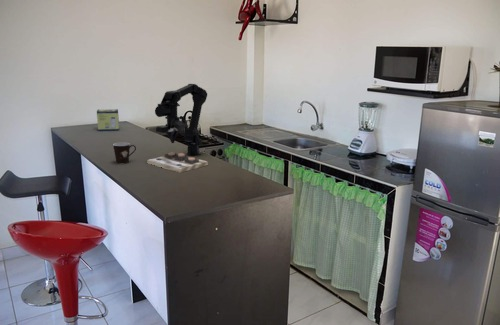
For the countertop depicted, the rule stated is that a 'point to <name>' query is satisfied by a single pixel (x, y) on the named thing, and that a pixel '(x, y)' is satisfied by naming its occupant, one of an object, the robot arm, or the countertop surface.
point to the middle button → (181, 155)
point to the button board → (177, 163)
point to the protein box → (108, 120)
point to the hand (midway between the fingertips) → (172, 143)
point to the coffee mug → (122, 152)
